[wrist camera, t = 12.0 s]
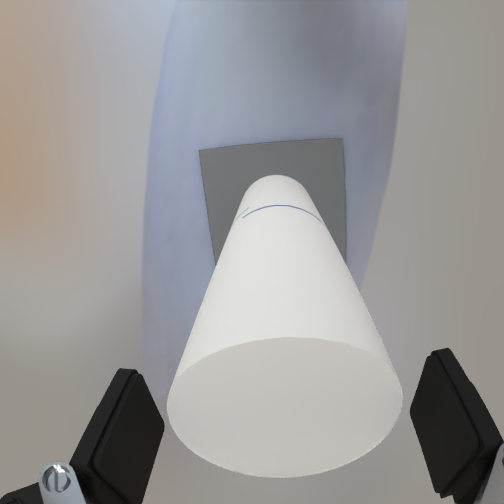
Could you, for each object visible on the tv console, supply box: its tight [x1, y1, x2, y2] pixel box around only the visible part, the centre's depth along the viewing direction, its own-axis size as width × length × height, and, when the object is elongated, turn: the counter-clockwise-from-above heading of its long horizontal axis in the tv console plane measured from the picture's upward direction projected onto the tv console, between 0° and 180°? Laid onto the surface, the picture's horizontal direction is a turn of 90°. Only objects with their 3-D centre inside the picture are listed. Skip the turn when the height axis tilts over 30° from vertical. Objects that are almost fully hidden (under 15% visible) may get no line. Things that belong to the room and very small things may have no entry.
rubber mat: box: [199, 138, 346, 265], centre depth 32 cm, size 14×14×1 cm
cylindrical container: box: [167, 175, 403, 478], centre depth 20 cm, size 7×7×25 cm
